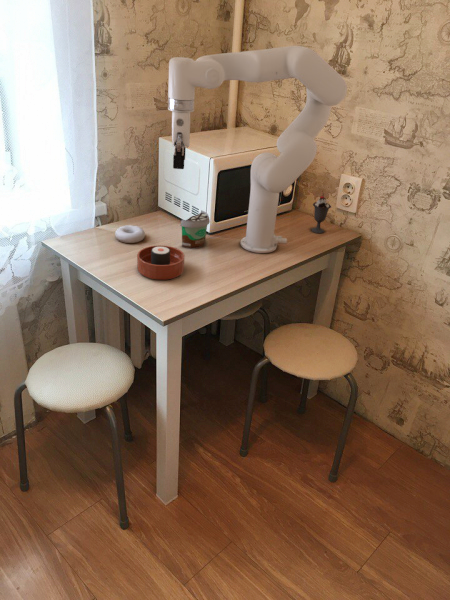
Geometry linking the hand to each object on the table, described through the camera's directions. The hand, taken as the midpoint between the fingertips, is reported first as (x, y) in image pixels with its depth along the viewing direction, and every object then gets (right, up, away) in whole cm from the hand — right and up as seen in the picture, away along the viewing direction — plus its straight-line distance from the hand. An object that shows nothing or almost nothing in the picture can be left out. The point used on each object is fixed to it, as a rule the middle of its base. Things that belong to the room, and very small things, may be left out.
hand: (179, 164), depth 156 cm
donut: (-18, -21, +18) cm, 33 cm away
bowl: (-6, -32, 0) cm, 33 cm away
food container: (+5, -23, +18) cm, 30 cm away
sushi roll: (-6, -32, 0) cm, 32 cm away
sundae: (+49, -15, +38) cm, 64 cm away
